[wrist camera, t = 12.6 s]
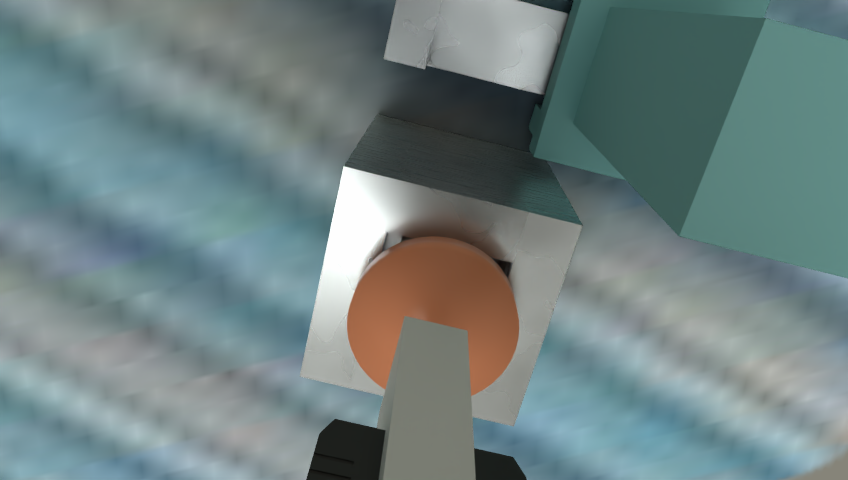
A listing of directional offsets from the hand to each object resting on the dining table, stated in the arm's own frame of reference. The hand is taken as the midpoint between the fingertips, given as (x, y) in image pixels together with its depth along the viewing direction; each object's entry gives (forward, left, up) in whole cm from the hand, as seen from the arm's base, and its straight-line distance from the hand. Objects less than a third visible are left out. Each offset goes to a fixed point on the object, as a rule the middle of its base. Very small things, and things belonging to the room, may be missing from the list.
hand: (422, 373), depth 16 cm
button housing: (0, 0, -14) cm, 14 cm away
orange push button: (0, 0, -9) cm, 9 cm away
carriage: (-7, +6, -14) cm, 16 cm away
